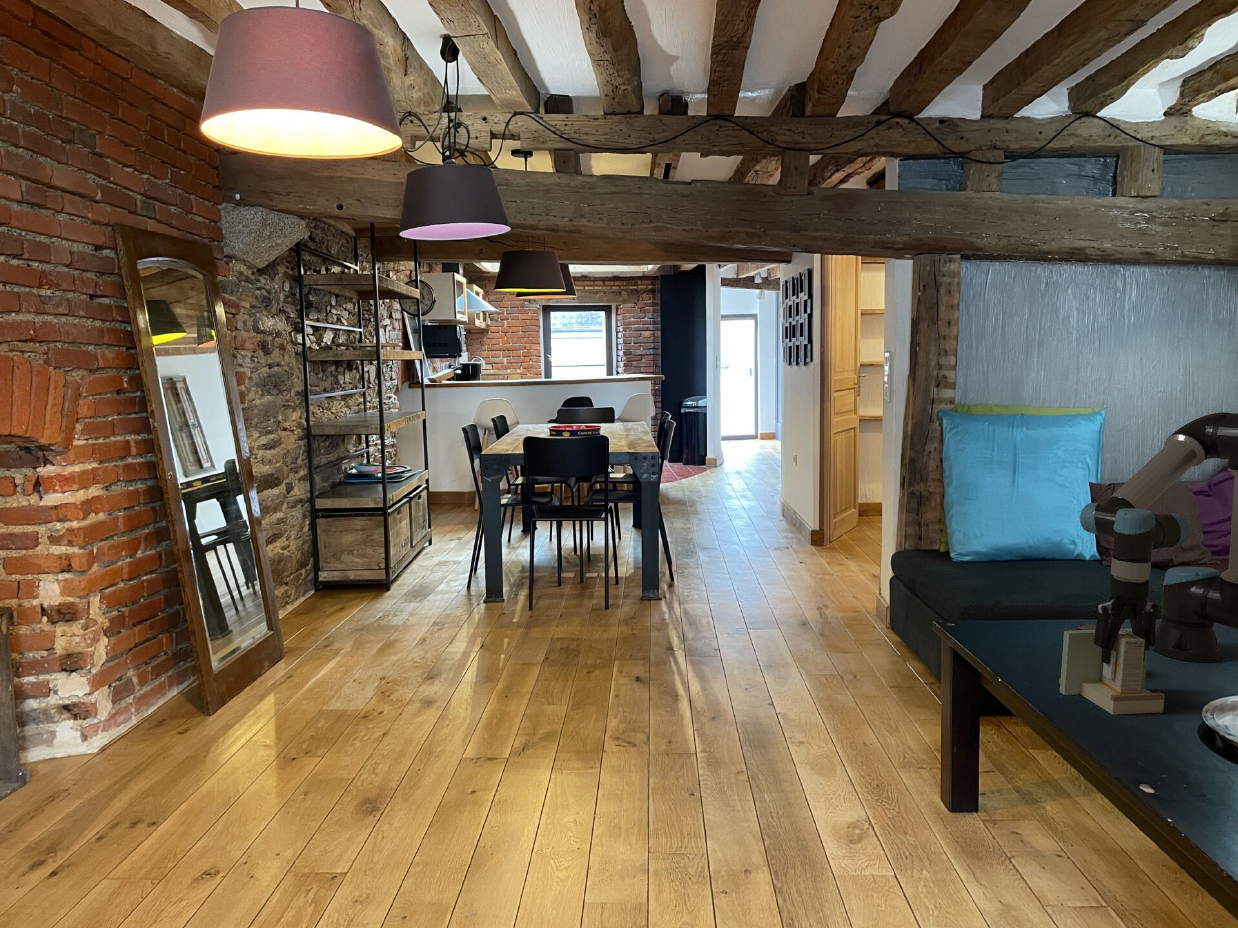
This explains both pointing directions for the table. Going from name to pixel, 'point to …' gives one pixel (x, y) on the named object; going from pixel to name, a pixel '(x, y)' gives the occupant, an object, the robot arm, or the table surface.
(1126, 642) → the supplement box
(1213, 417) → the robot arm
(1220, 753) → the table surface
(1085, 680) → the wall board
